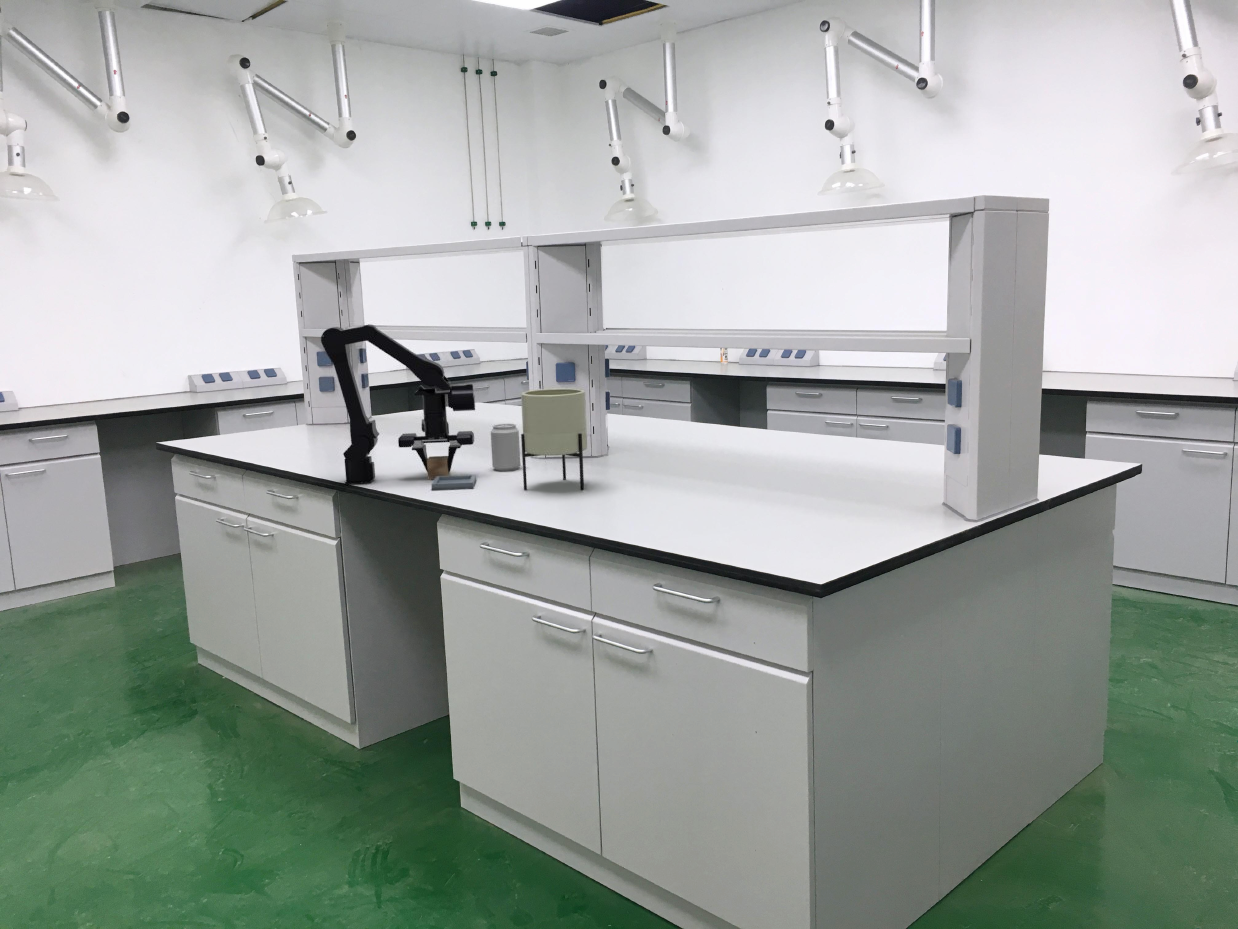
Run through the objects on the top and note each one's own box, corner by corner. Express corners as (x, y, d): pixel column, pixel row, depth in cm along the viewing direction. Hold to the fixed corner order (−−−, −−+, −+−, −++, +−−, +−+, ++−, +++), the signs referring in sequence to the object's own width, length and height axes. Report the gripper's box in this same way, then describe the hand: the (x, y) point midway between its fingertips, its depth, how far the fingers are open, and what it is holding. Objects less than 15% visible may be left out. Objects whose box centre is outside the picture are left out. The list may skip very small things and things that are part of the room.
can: (494, 472, 256) (492, 427, 254) (490, 467, 263) (488, 423, 261) (523, 470, 258) (520, 425, 256) (518, 465, 265) (515, 421, 263)
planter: (516, 484, 240) (511, 391, 236) (577, 478, 246) (573, 386, 241) (532, 496, 226) (527, 397, 222) (597, 489, 232) (593, 392, 227)
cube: (428, 479, 249) (426, 460, 248) (430, 475, 254) (429, 456, 253) (447, 478, 249) (446, 459, 248) (449, 474, 254) (448, 455, 253)
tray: (431, 490, 236) (431, 484, 236) (436, 482, 246) (436, 476, 245) (473, 488, 237) (472, 482, 236) (476, 480, 246) (476, 474, 246)
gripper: (474, 406, 257) (477, 465, 260) (402, 409, 256) (406, 468, 259) (470, 412, 246) (474, 473, 249) (396, 415, 245) (400, 476, 248)
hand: (438, 472), depth 251 cm, fingers closed on cube, 5 cm apart
